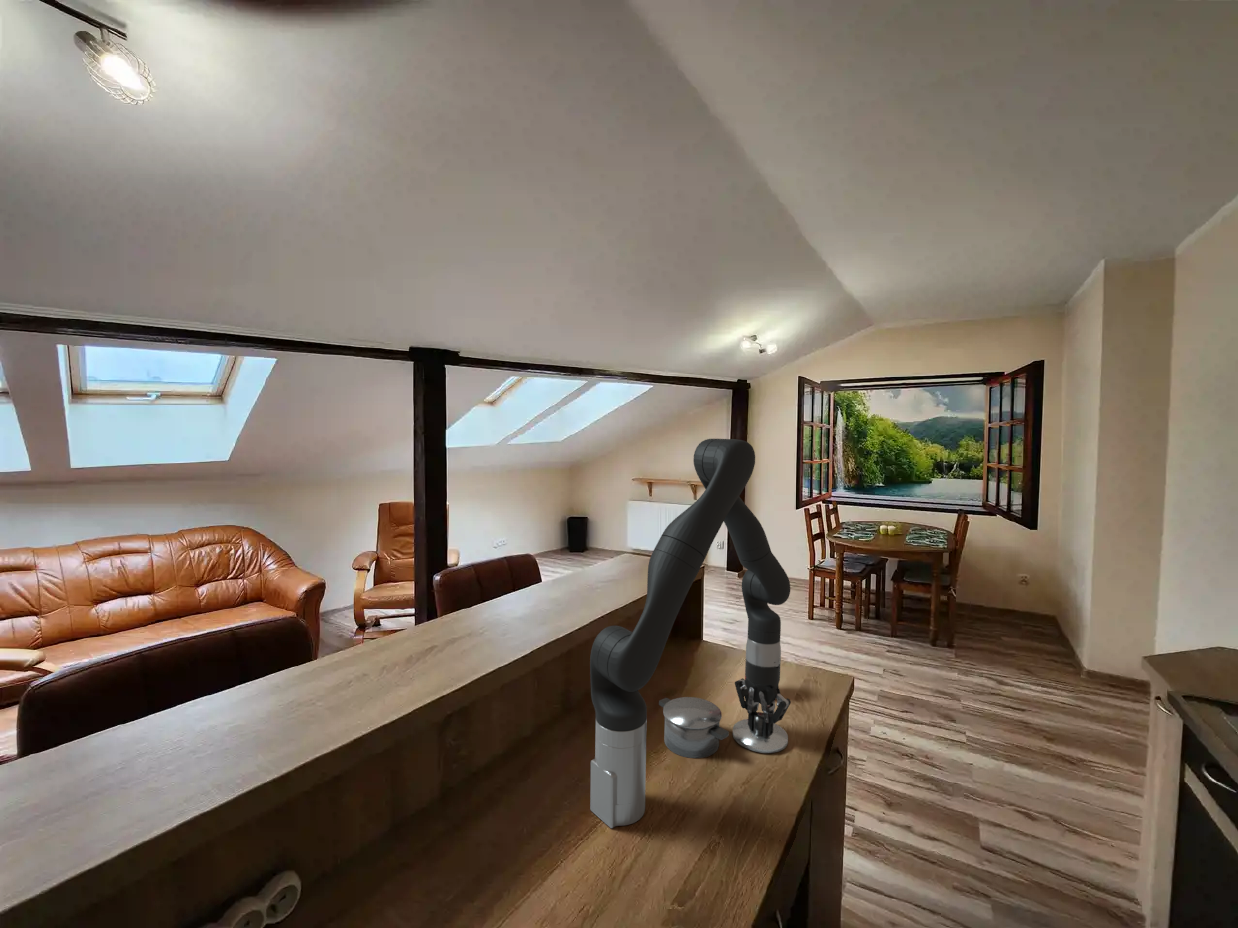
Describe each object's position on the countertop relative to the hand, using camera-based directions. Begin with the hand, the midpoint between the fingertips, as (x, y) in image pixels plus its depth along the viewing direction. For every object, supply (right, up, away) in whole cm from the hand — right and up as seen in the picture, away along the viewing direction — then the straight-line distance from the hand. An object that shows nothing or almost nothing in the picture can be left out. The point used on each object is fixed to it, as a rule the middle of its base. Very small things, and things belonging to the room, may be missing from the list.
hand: (760, 732), depth 124 cm
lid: (0, -1, 0) cm, 1 cm away
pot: (-16, -1, -1) cm, 16 cm away
